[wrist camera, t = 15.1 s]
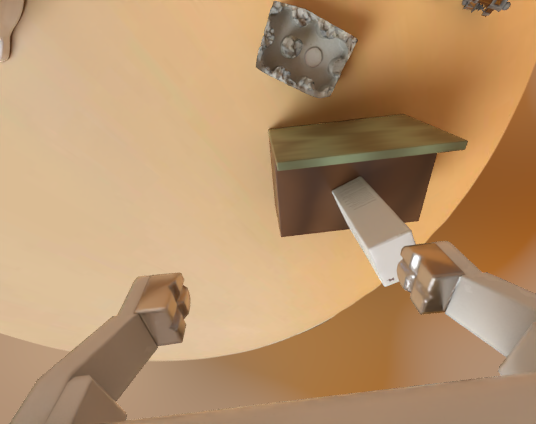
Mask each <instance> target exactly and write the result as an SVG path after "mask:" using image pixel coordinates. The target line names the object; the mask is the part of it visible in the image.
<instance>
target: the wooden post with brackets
mask: <svg viewBox="0 0 536 424" xmlns="http://www.w3.org/2000/svg"><path fill="white" fill-rule="evenodd" d="M507 1H508V0H463V1H462V5H465V6H464V8H463V9H470V10H472V11H471V13H472V12H473V11H474V10H476V9H478V11H479V10H480V9H482V11H483V9H484V8H485V7H486V9H485V10H484V11H483V13H482V16H485V17H486V16H488V15H490V13H491V12H492V11H493V10H497V11H498V12H499V11H500V10H507V9H508V8H509V7H510V5H511V4H510V2H507ZM480 3H481V4H482V5H481V4H480ZM483 4H484V5H485V7H483Z"/></svg>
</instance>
